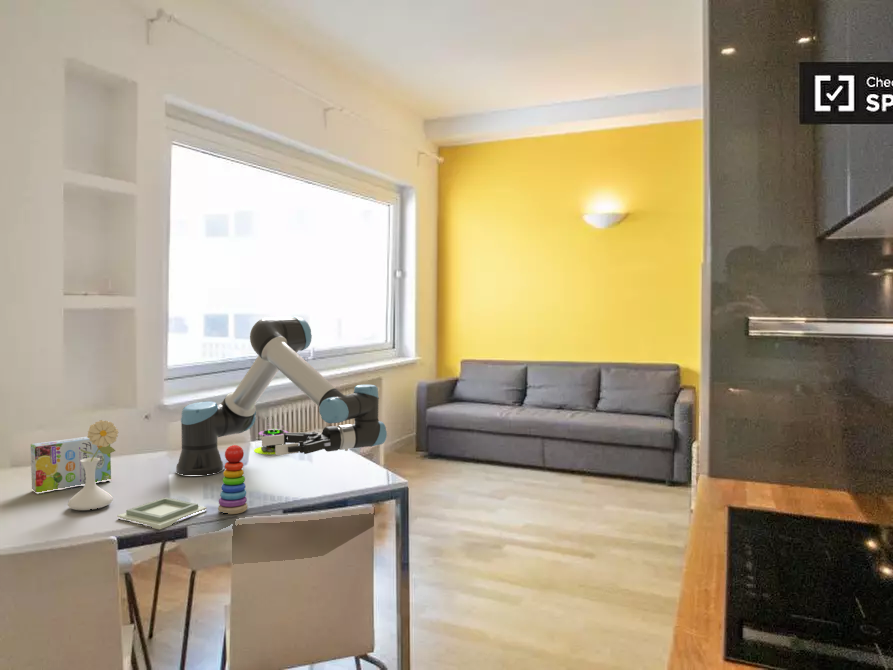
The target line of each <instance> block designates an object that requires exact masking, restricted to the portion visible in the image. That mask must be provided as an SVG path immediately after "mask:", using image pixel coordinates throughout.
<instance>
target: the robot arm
mask: <svg viewBox="0 0 893 670" xmlns="http://www.w3.org/2000/svg"><path fill="white" fill-rule="evenodd" d="M312 336H313V335H312V329H311V326H310V325H309V323H308V322H307V321H306V319H304V318H303V317H299V316H294V315H292V316H276V317H275V316H274V317H273V316H272V317H271V316H270V317H269V316H268V317H263V318H261V319H259V320H258V321H256V323H254V324H253V326H252V327H251V330H250V333H249V342H250V344H251V347H252V349H253V351H254V352H255V354H256V355H257V358H256V359H255V360H254V361H253V363H252V365H251V366H250V368H249V369H248V371H247V372H246V374H245V375H244V376H243V378H242V380H241V381H240V382H239V385H238V386H237V387H236V389H235V390H234V391H233V392H229V393H228V394H227V395H226V396H225V397H224V398H223V400H222V401H221V402H220V403H217V402H216V401H211V400H209V401H206V400H205V401H197V402H194V403H190V404H187V405H186V406H184V407H183V408H182V410H181V417H180V423H181V424H180V425H181V451H180V454H179V459H178V463H177V464H176V467H175V470H176V472H177V473H179V474H183V475H207V474H212V475H214V474H213V473H216V474H218V472H219V473H220V472H222V471H223V470H224V463H223V460H222V458H221V454H220V450H219V448H218V447H219V446H218V440H219V439H218V438H222V437H226V436H230V435H235V434H236V435H237V434H241V433H244V432H247V431H249V430H250V429H251V428H252V427H253V426H254V424H255V422H256V420H257V419H256V415H257V409H256V408H257V407H256V404H257V402H258V401H259V400H260V398H261V397H262V395H263V394H264V393H265V391H266V389H267V388H268V387H269V385H270V384H271V382H272V381H273V380H274V378H275V377H276V375H277V374H278V372H280V373H281V374H283V375H284V376H285V377H286V379H288V380H289V381H290V382H292V383H293V384H294V386H296V387H297V388H298V389H299V390H300V391H301V392H302V393H304V394H305V395H306V396H307V398H309V399H310V400H311V401H312V402H313V403H315V404H316V406H318V410H319V412H318V413H319V415H320V417H321V419H322V421H323V422H325V423H327V424H338V423H342V422H343V423H344V422H345V421H349V420H354V423H352V424H351V423H350V424H341V425H340V424H339V425H337V426H336V425H331V426H325V427H323V429H322V432H321V434H320V433H319V432H316V431H310V432H287V433H285V432H284V433H283V435H274V436H264V437H262V436H261V438H262V439H261V447H263V446H269V445H275V454H274V455H275V456H285V455H291V454H299V453H300V454H304V455H308V454H311V453H315V452H319V451H321V450H324V451H325V452H327V453H328V452H336V451H341V450H342V451H343V450H344V451H345V452H348V451H349V449H358V448H367V447H368V448H369V447H370V448H371V447H376V446H381V445H383V444H384V443H385V442H386V440H387V436H388V435H387V434H388V431H387V430H386V428H387V427H386V425H385V423H384V422H383V421H381V420H379V399H380V398H379V388H378V386H377V385H374V384H358V385H356V386H354V389H353V393H349V394H344V393H342V392H341V391H340V390H339V389H338V388H336V387H335V386H334V385H333V384H332V383H331V382H330V381H329V380H328V379H326V377H324V376H323V375H322V374H321V373H320V372H319V371H318V370H317V369H315V368H314V367H313V366H312V365H311V364H310V363H309V362H308V361H306V360H305V358H303V357H302V356H301V355H300V354H299V353H298V352H299V351H300V352H301V351H305V350H306V349H308V348H309V347H310V345H311V343H312V339H313V338H312ZM277 444H283V445H277ZM176 472H175V473H176ZM177 473H176V474H177ZM207 476H208V475H207Z"/></svg>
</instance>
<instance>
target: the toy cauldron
mask: <svg viewBox="0 0 893 670" xmlns="http://www.w3.org/2000/svg"><path fill="white" fill-rule="evenodd" d="M278 423H280V422H277V423H276V422H275V425H278ZM267 426H268V427H269V426H270V424H269V425H267ZM282 428H285V427H284V426H283V425H282ZM283 433H288V431H287V430H284V429H280V428H270V429H265V430H263V431H259V432H258V435H262V436H261V438H260V439H261V440H262V437H264V436H274V435H283ZM277 445H283V444H277ZM253 451H254V452H253V453H256V454H259V455H271V456H272V455H275V445H269V446H260V447H257V448H254V449H253Z"/></svg>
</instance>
